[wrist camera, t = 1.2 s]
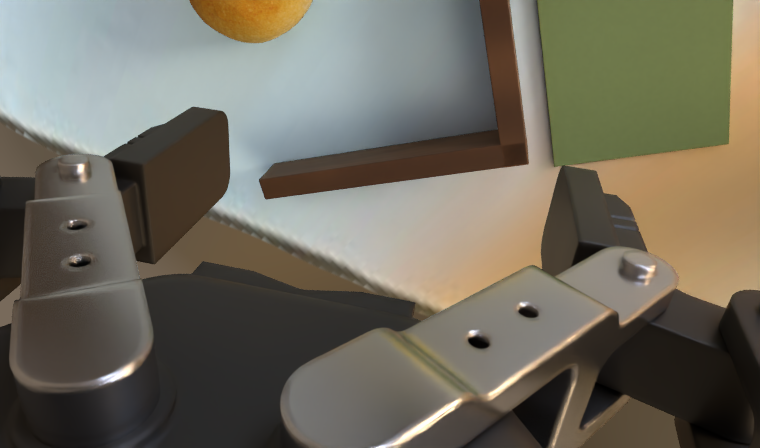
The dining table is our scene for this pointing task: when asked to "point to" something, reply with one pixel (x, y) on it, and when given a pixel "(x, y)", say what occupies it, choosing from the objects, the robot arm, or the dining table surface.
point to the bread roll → (251, 17)
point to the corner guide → (431, 154)
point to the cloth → (635, 76)
